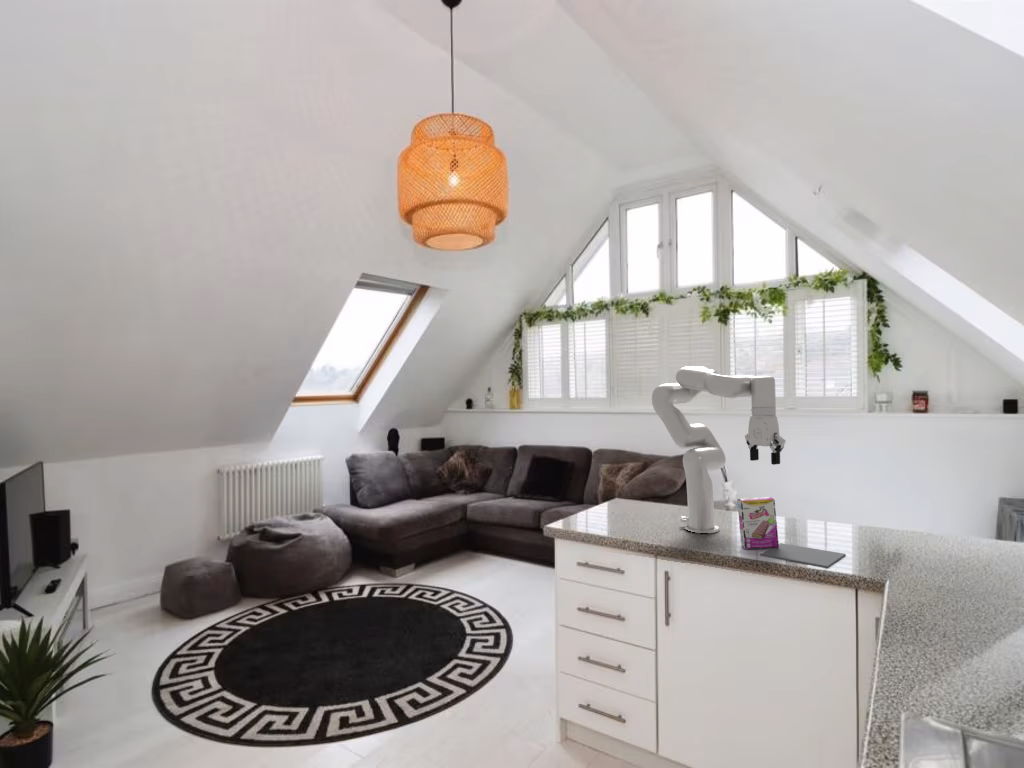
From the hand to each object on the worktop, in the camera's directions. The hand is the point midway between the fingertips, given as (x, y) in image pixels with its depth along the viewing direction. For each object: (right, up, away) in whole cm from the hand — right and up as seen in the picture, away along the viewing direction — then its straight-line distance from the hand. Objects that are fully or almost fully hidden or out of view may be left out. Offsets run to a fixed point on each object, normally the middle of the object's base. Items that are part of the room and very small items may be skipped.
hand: (764, 462), depth 192 cm
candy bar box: (-2, -29, -2) cm, 29 cm away
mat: (+7, -28, -12) cm, 31 cm away
